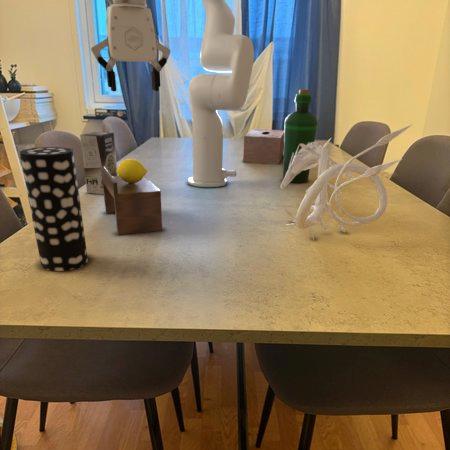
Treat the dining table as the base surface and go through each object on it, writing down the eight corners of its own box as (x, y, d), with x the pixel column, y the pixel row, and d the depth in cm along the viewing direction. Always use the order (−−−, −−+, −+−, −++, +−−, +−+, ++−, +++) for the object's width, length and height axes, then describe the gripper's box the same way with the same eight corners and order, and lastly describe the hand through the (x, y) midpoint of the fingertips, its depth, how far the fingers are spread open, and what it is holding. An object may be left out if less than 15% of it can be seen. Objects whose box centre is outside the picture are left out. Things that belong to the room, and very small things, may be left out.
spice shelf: (144, 209, 113) (141, 164, 108) (162, 230, 98) (160, 179, 93) (105, 212, 110) (100, 166, 104) (118, 235, 95) (113, 182, 90)
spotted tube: (48, 254, 84) (28, 146, 75) (91, 253, 85) (77, 147, 76) (35, 271, 77) (12, 155, 68) (83, 270, 78) (66, 155, 68)
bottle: (313, 179, 150) (323, 89, 137) (308, 185, 141) (319, 90, 128) (283, 176, 153) (290, 88, 140) (276, 182, 144) (283, 89, 131)
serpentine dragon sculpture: (412, 272, 77) (463, 117, 70) (299, 251, 75) (340, 88, 67) (334, 233, 120) (361, 134, 112) (261, 219, 117) (283, 117, 110)
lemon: (114, 185, 98) (112, 160, 95) (120, 179, 102) (118, 156, 100) (145, 186, 98) (143, 161, 95) (149, 180, 102) (148, 157, 100)
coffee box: (106, 194, 125) (100, 135, 117) (86, 193, 126) (78, 134, 118) (119, 187, 133) (114, 131, 125) (100, 186, 134) (94, 130, 126)
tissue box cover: (251, 152, 198) (253, 128, 193) (283, 153, 195) (285, 130, 191) (243, 162, 175) (244, 136, 171) (278, 164, 173) (280, 137, 168)
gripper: (87, -5, 84) (98, 92, 93) (172, 1, 90) (176, 91, 99) (83, -1, 90) (93, 90, 99) (163, 4, 96) (167, 89, 105)
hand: (135, 90), depth 99 cm, fingers open, 9 cm apart
